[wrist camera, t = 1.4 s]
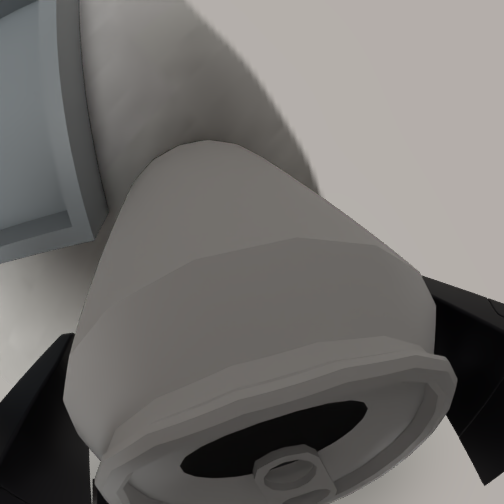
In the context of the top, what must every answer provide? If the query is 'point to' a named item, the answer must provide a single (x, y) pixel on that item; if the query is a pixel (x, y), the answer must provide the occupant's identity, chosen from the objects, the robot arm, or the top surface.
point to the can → (249, 342)
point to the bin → (45, 132)
